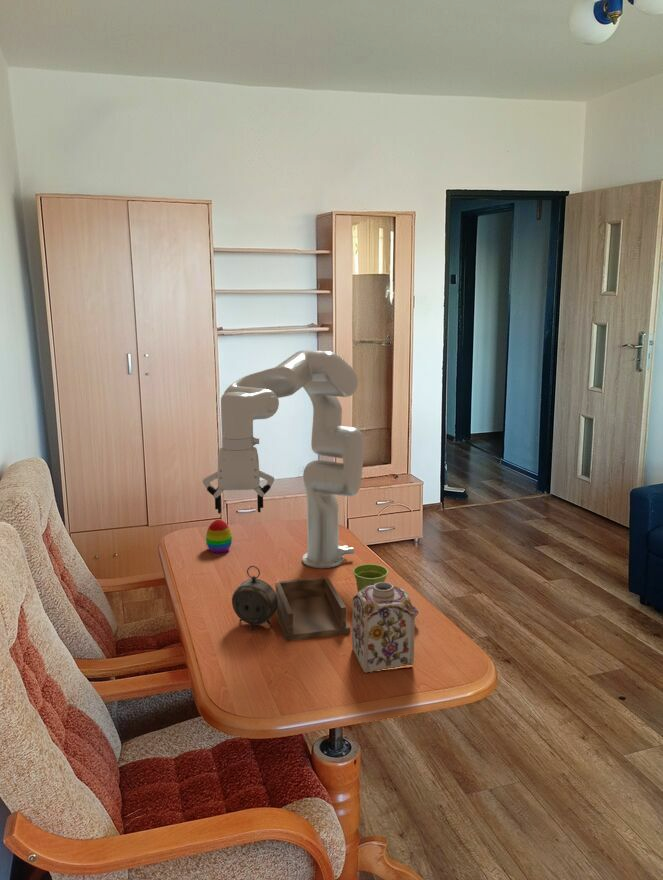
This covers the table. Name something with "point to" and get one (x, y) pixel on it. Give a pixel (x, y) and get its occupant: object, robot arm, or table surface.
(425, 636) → the table surface
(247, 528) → the table surface
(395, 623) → the decorative jar
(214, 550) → the decorative egg
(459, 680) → the table surface
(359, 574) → the plant pot
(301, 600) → the wooden tray
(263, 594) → the alarm clock
